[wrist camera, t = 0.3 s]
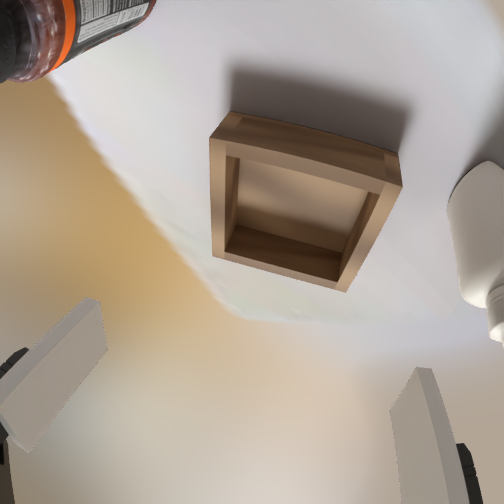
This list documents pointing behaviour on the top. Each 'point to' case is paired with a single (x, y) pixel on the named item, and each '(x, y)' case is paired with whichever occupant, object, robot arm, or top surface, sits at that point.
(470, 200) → the eye dropper bottle
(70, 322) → the robot arm
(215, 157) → the holder
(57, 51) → the supplement bottle
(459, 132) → the top surface
